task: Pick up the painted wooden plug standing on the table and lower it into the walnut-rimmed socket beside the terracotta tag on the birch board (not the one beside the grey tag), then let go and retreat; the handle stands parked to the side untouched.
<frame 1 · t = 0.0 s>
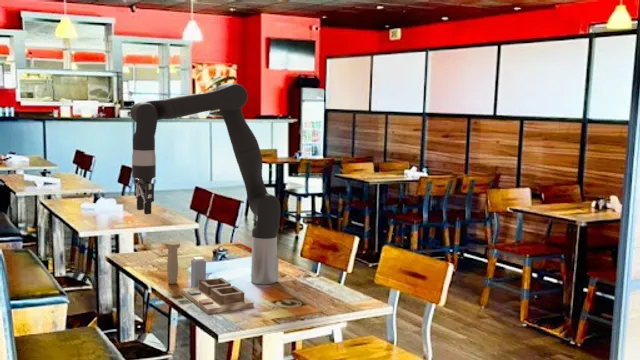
hand: (143, 212, 217), 29 cm above the table, fingers open, 8 cm apart
plug: (198, 287, 234), on the table
socket board: (216, 299, 221), on the table
handle: (172, 283, 238), on the table
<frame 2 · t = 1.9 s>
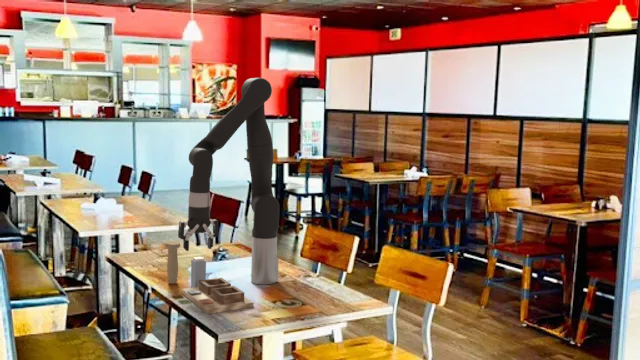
hand: (198, 249, 232), 14 cm above the table, fingers open, 8 cm apart
nothing on the table moved.
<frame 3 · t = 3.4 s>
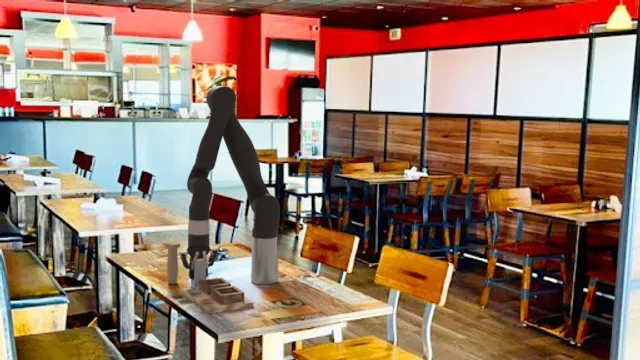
hand: (198, 278, 233), 3 cm above the table, fingers closed on plug, 4 cm apart
plug: (198, 287, 234), on the table, touching gripper
everything else where it was.
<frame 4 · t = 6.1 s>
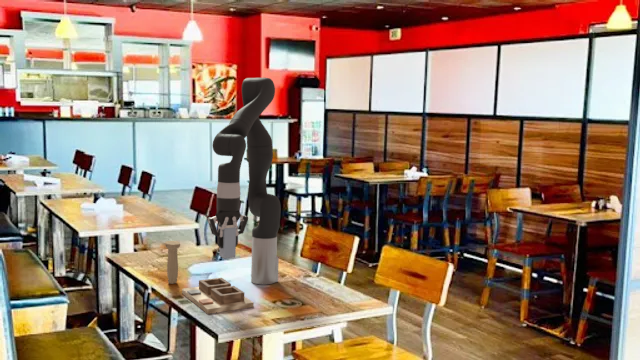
hand: (227, 246, 214), 19 cm above the table, fingers closed on plug, 4 cm apart
plug: (227, 256, 215), point 16 cm above the table, touching gripper
everything else where it was.
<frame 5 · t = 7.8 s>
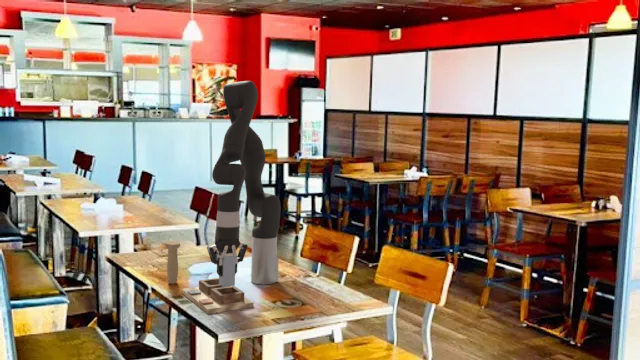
hand: (226, 274, 216), 10 cm above the table, fingers closed on plug, 4 cm apart
plug: (226, 284, 216), point 7 cm above the table, touching gripper
everything else where it was.
when the fingers open (5 cm above the table, at t = 9.1 s): plug stays where it is, resting on socket board.
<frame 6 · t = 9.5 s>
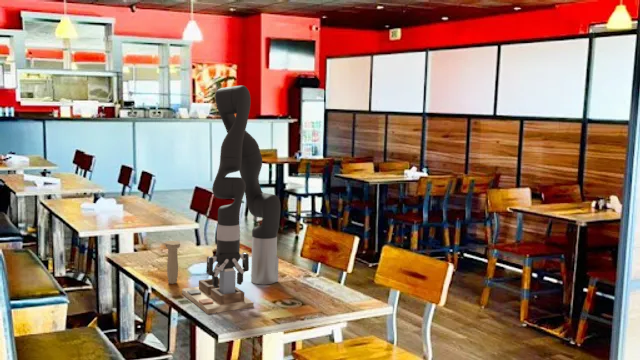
hand: (227, 285, 216), 6 cm above the table, fingers open, 8 cm apart
plug: (227, 299, 217), point 1 cm above the table, touching socket board
everything else where it was.
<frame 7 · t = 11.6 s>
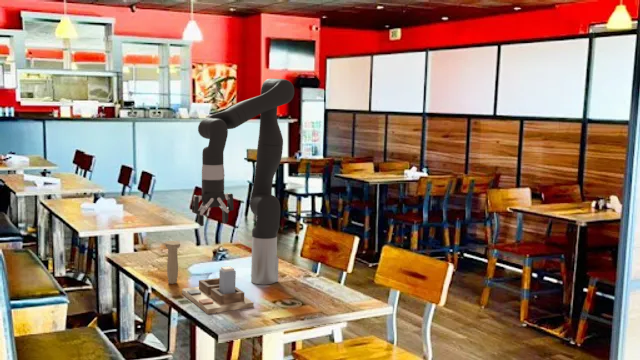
hand: (213, 224, 223), 25 cm above the table, fingers open, 8 cm apart
nothing on the table moved.
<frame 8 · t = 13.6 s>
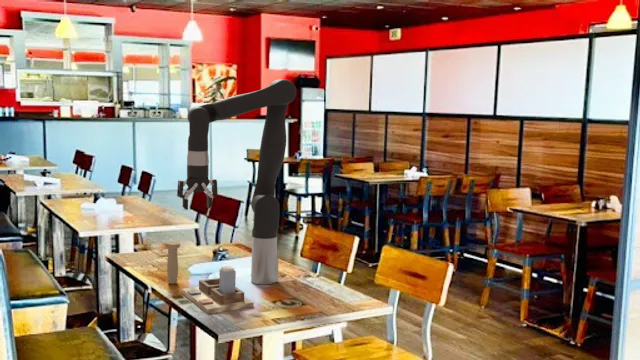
hand: (197, 208, 233), 28 cm above the table, fingers open, 8 cm apart
nothing on the table moved.
at the end: plug 0.1 cm from the target spot, point 1.5 cm above the table; plug tilted 0°; the gripper is holding nothing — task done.
